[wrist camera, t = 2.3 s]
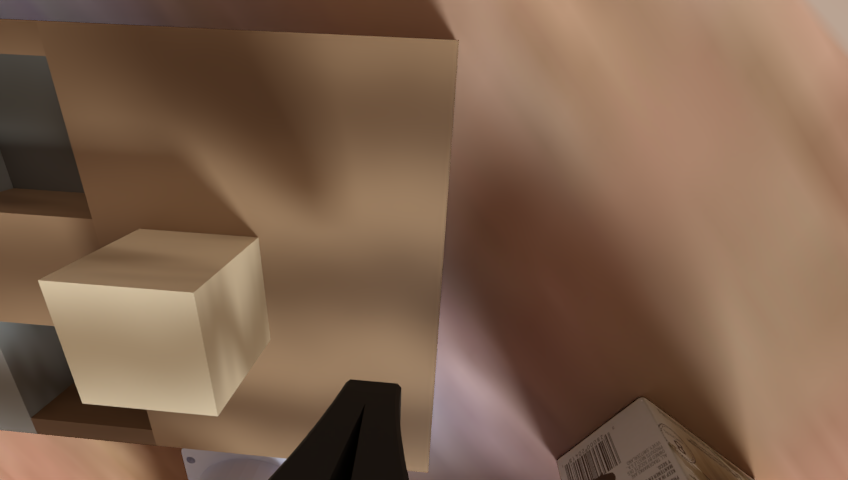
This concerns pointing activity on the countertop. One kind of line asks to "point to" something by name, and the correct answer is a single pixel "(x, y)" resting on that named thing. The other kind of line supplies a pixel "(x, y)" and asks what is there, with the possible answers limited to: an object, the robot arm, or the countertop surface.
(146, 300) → the block
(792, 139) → the countertop surface
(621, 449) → the coffee box
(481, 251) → the countertop surface
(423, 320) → the trap board
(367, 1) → the countertop surface
